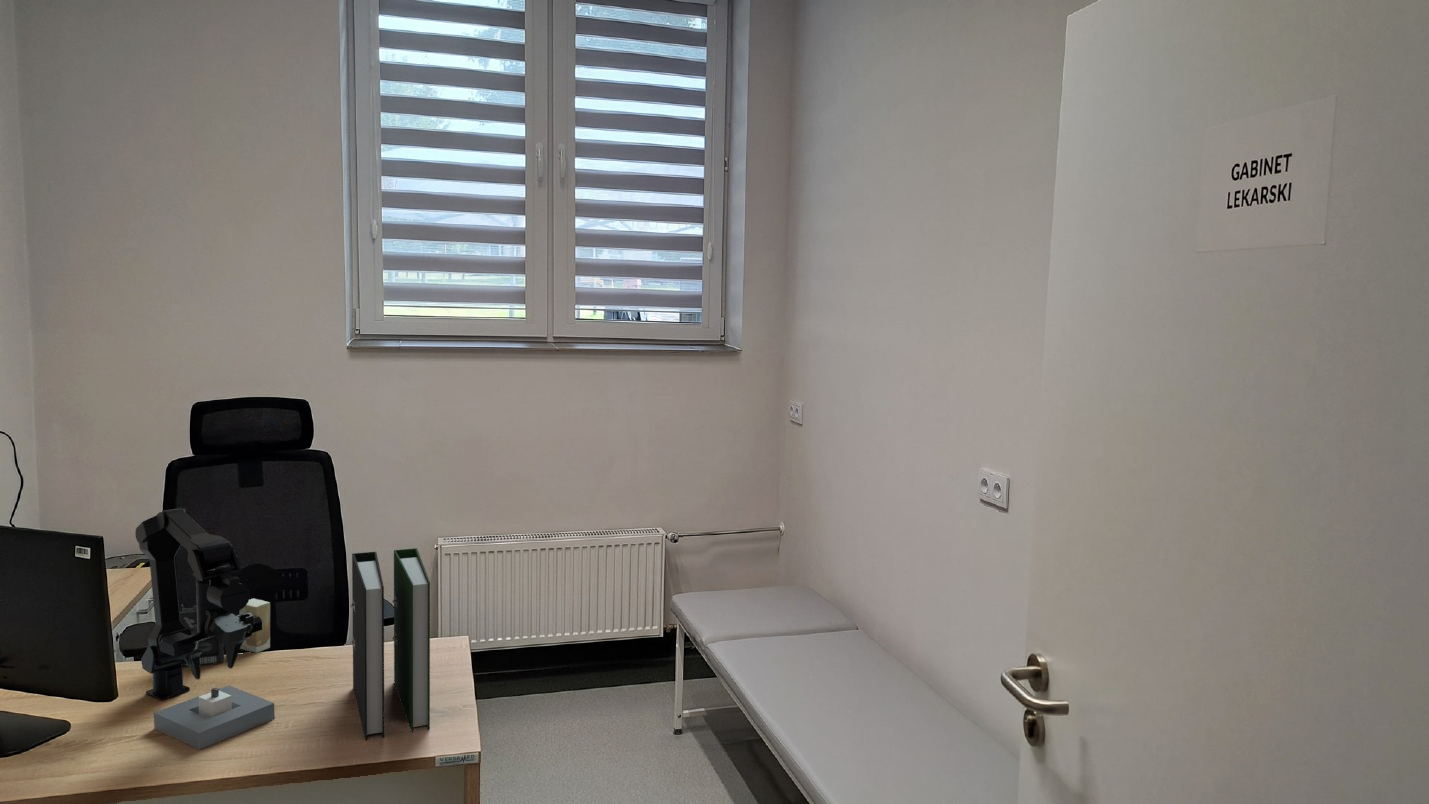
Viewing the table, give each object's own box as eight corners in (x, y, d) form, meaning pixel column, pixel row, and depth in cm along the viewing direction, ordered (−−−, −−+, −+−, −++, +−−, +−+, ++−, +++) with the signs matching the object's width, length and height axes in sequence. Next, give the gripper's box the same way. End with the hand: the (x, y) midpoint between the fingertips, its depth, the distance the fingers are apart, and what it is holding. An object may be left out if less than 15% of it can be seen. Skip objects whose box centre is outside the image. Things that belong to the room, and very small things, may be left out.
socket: (154, 728, 181) (153, 712, 181) (229, 700, 195) (229, 685, 195) (199, 749, 174) (199, 732, 173) (274, 718, 187) (274, 703, 187)
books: (433, 729, 185) (433, 581, 182) (357, 741, 179) (356, 589, 176) (417, 679, 210) (417, 548, 206) (349, 688, 203) (348, 553, 200)
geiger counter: (229, 656, 219) (227, 597, 218) (227, 663, 215) (225, 603, 214) (180, 661, 215) (178, 601, 214) (177, 668, 211) (175, 607, 210)
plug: (199, 719, 184) (198, 689, 183) (218, 712, 187) (217, 683, 187) (213, 725, 181) (212, 695, 181) (232, 718, 185) (231, 688, 184)
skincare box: (238, 649, 224) (237, 602, 223) (253, 643, 228) (252, 597, 227) (257, 653, 221) (256, 606, 220) (271, 647, 225) (270, 601, 224)
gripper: (189, 621, 170) (191, 699, 171) (278, 596, 186) (279, 667, 187) (157, 610, 175) (159, 685, 177) (246, 586, 191) (247, 655, 193)
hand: (214, 673), depth 183 cm, fingers open, 7 cm apart
